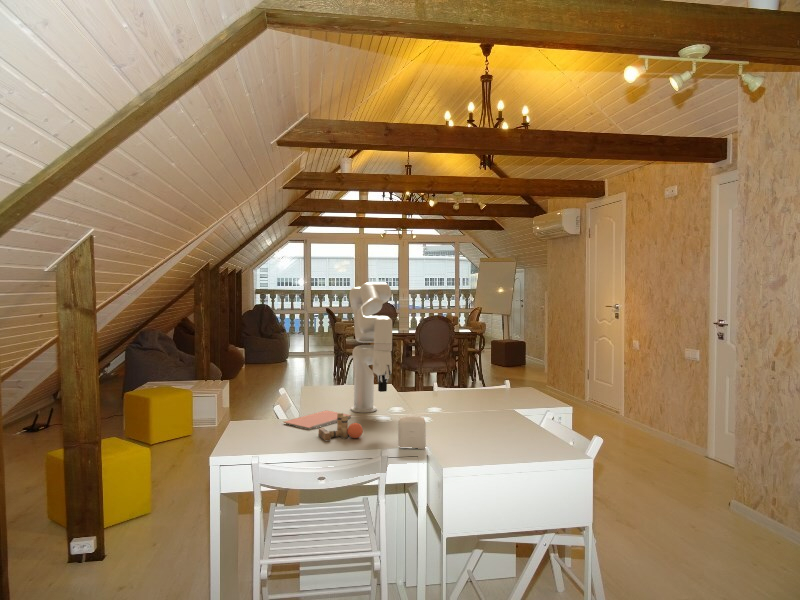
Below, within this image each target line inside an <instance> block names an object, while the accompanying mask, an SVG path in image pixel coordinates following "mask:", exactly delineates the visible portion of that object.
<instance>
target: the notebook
mask: <svg viewBox="0 0 800 600" xmlns="http://www.w3.org/2000/svg"><path fill="white" fill-rule="evenodd" d="M338 413H339V412H337V411H331V410H327V409H326V410H323V411H318V412H314V413H311V414H307V415H304V416H298V417H296V418H293V419H287V420H285V421H283V424H284V423H286V424H290V425H294V426H297V427H296V428H299V427H302V428H301V429H303V428H306V429H305V430H307V429H311V430H313V429H312V428H315V429H319V427H320V426H321V427H326V425H327V424H328V425H333V423H335V424H337V423H336V422H337V414H338ZM343 416H348V420H350V419H351V417H352V414H347V413H343ZM330 423H332V424H330ZM286 424H285V425H286ZM290 425H289V426H290ZM323 425H324V426H323ZM294 426H293V427H294ZM316 427H317V428H316Z"/></svg>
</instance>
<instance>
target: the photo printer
mask: <svg viewBox="0 0 800 600" xmlns="http://www.w3.org/2000/svg"><path fill="white" fill-rule="evenodd" d="M426 425H427V424H426V420H425V417H424V416H421V415H418V414H416V415H415V414H407V415H403V416H400V417H399V420H398V426H397V427H398V428H397V431H398V432H397V433H398V435H397V436H398V440H397V443H398V444H397V445H398V446H400V447H412V448H418V449H417V450H424V449H426V448H425V447H426V446H427V445H426V440H427V439H426V437H427V435H426V434H427V433H426V432H427V431H426V430H427V429H426V427H427V426H426Z"/></svg>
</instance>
